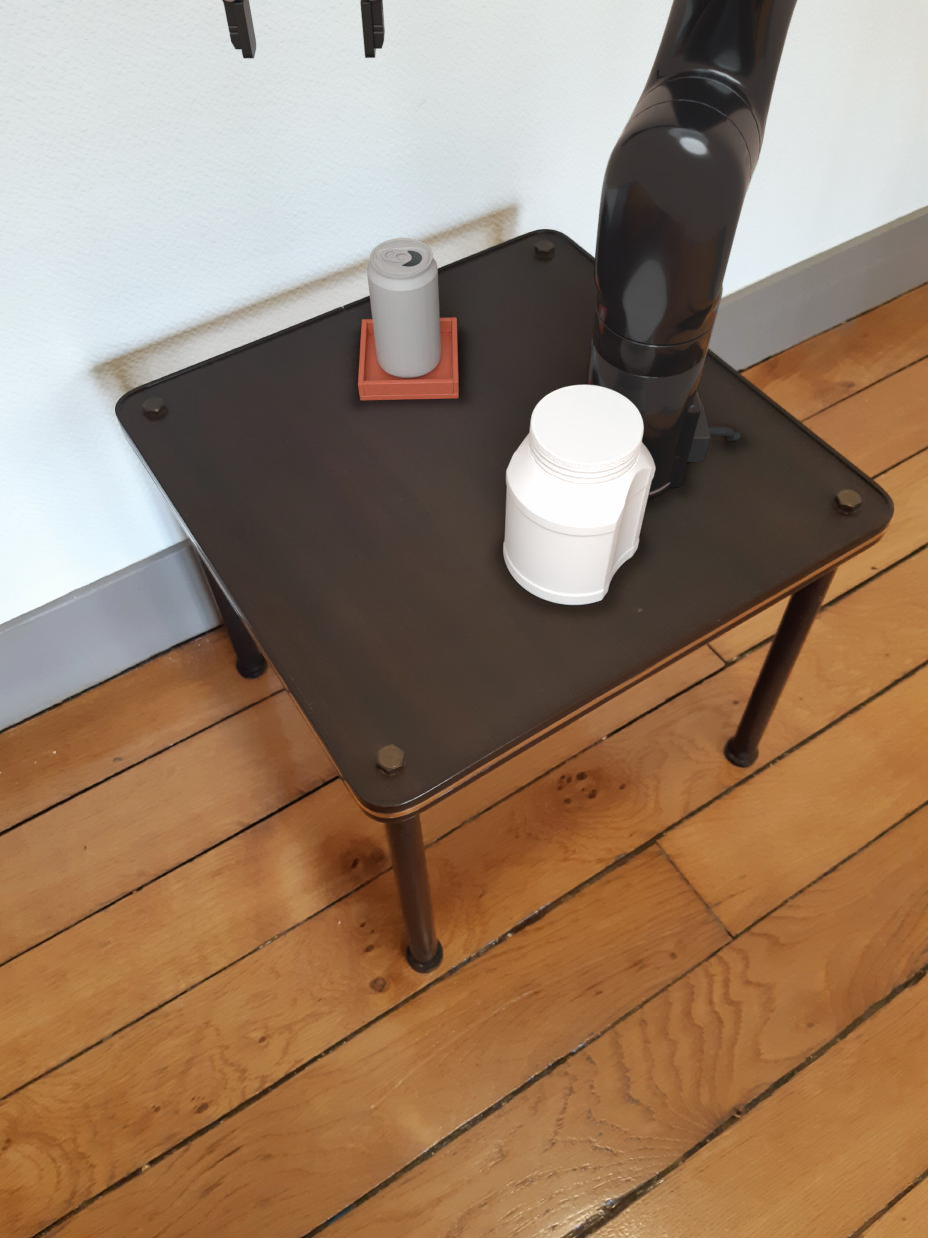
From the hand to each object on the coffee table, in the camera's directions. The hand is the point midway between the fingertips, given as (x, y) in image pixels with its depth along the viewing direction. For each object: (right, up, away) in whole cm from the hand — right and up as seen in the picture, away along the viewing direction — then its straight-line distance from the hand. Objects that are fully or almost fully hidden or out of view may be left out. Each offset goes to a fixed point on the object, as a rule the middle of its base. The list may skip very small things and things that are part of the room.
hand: (310, 52), depth 67 cm
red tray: (+5, -15, +28) cm, 32 cm away
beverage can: (+5, -15, +27) cm, 31 cm away
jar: (+20, -34, +14) cm, 42 cm away
